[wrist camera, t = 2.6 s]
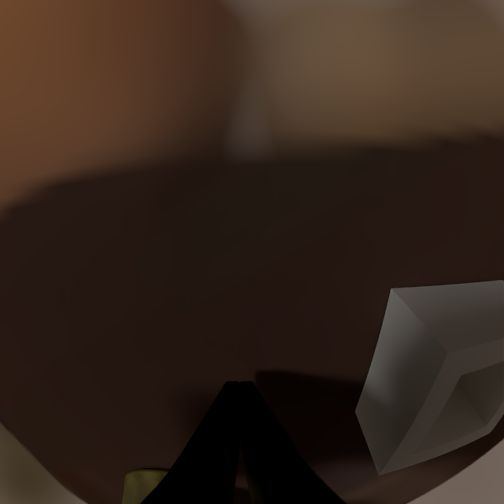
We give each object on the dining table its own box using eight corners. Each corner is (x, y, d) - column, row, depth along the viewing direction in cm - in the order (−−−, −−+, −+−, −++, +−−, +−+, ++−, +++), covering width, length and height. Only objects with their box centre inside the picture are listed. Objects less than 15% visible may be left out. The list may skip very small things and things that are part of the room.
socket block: (458, 386, 11) (489, 433, 8) (354, 411, 11) (378, 475, 8) (501, 279, 9) (555, 320, 6) (391, 288, 9) (447, 352, 6)
